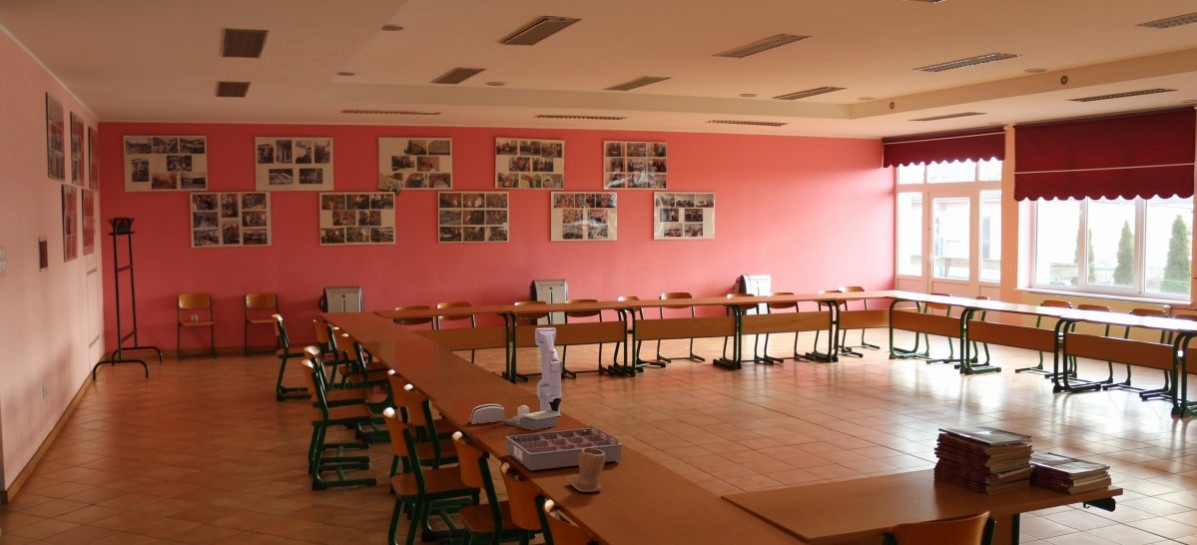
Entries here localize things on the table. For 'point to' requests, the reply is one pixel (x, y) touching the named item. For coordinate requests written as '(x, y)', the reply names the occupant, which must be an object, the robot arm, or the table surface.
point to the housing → (532, 423)
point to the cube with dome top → (522, 410)
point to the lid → (541, 414)
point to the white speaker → (487, 414)
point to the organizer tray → (560, 447)
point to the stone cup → (588, 470)
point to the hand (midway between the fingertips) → (554, 413)
